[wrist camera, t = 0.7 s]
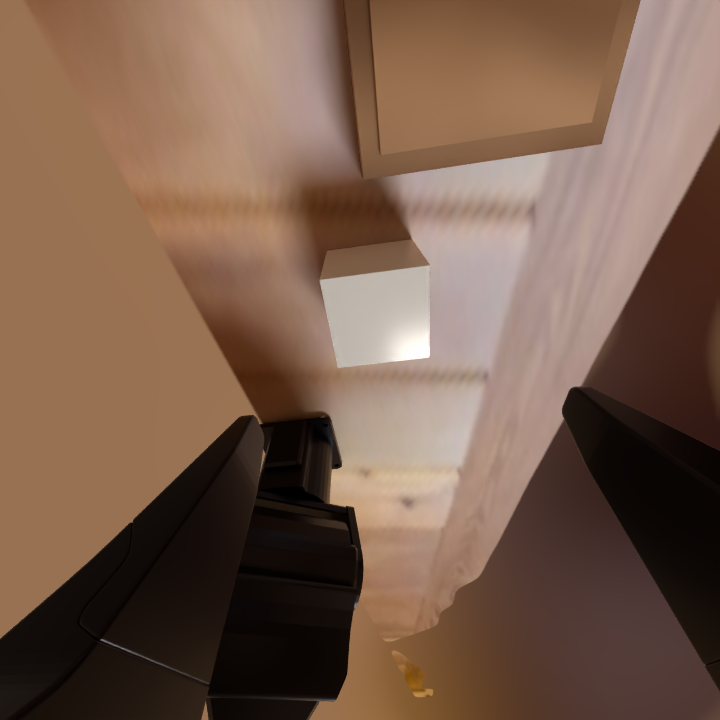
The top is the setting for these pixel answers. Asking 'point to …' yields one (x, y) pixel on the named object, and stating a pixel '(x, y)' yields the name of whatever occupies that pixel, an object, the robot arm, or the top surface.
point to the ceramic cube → (377, 303)
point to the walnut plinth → (481, 78)
